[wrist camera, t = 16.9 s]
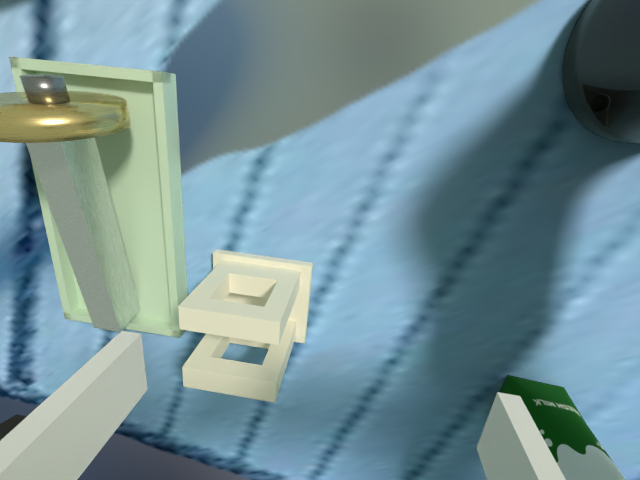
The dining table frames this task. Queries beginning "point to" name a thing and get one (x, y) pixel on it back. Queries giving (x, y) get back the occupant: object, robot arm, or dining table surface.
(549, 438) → the milk carton
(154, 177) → the tray
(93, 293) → the gold disc post
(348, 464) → the dining table surface
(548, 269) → the dining table surface
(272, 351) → the double loop bracket
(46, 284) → the dining table surface
